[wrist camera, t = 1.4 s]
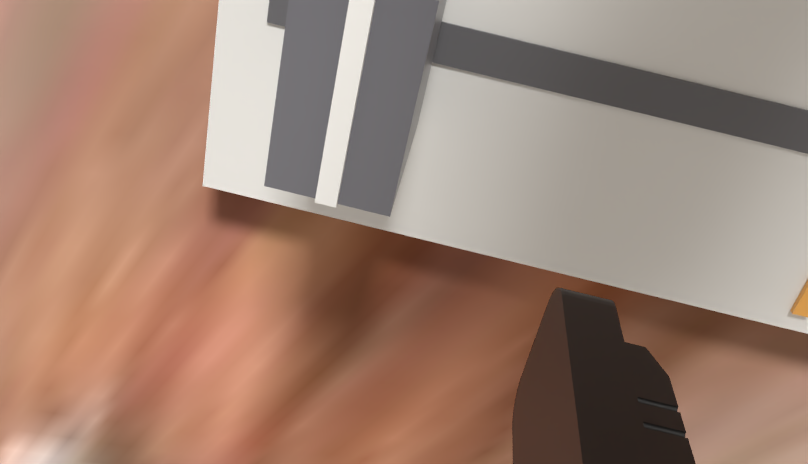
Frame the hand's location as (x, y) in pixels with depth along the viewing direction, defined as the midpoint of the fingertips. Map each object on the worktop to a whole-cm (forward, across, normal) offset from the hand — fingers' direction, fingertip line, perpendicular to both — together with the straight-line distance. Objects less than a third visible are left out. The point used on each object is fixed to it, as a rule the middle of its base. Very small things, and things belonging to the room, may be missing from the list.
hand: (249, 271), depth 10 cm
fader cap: (+13, 0, 0) cm, 13 cm away
